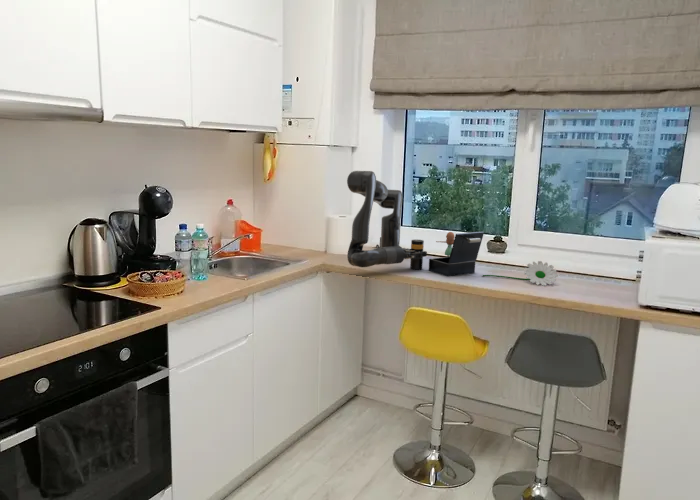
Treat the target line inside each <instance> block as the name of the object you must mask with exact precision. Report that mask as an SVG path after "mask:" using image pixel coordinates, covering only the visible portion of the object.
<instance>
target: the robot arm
mask: <svg viewBox="0 0 700 500" xmlns="http://www.w3.org/2000/svg"><path fill="white" fill-rule="evenodd" d="M346 183H347V188H348V190H349V191H350V192H351V193H352V194H358V195H361V196H363V197H364V201H363V202H362V206H361V207H360V209H359V211H358V212H357V213H356V215H355V216H354V219H353V220H352V225H351V239H350V243H349V245H348V250H347V254H346V255H347V262H348V264H349V265H350V266H352V267H357V268H370V267H373V266H381V265H396V264H401V263H403V261H404V260H411V259H412V260H414V259H421V258H422V257H423V258H424V257H425V258H426V257H427V256H428V252H427V251H426V250H423V251H422V252H415V251H414V250H411V248H406V247H402V246H401V244H400V243H401V242H400V240H401V219H402V210H403V209H402V208H403V198H404V197H403V192H402V191H401V190H398V189H388V187H387V186H386V184H384V183H383V182H382V181H380V180H378V179H377V175H376V173H375V172H374V171H372V170H354V171H351V172H349V174H348V176H347V178H346ZM374 203H377V204H378V206H380V208H382V209H388V210H392V212H391V213H389V214H386V215H383V216H381V222H380V223H381V224H380V225H381V226H380V237H379V244H376V245H375V248H371V249H368V250H363V248H364V245H366V244H368V242H369V236H370V222H371V216H372V210H373V209H372V208H373V204H374ZM412 252H413V253H412Z"/></svg>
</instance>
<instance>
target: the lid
mask: <svg viewBox="0 0 700 500" xmlns="http://www.w3.org/2000/svg"><path fill="white" fill-rule="evenodd" d="M484 235H485V232H484V231H473V232H462V233H455V234H454V237H455V238H454V243H453V244H452V250H451V254H450V258H449V262H448V263H449V264H450V263H459V262H468V261H475V262H476V261H477V259H478V256H479V252H480V248H481V246H482V245H481V244H482V241H483V238H484Z"/></svg>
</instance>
